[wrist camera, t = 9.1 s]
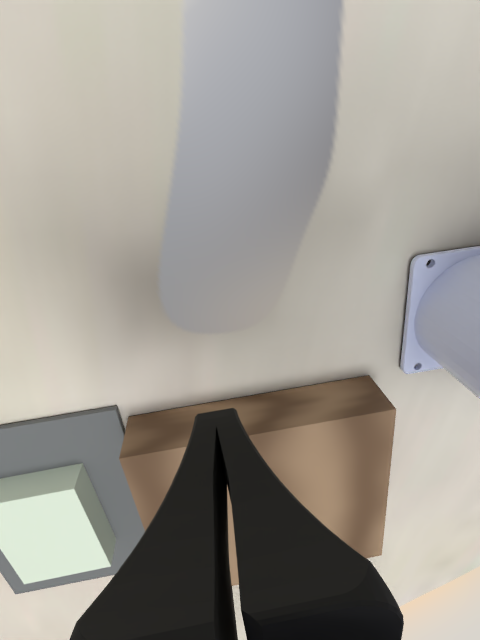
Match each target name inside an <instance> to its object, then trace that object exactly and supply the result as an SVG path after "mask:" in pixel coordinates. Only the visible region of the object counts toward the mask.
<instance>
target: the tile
mask: <svg viewBox="0 0 480 640" xmlns="http://www.w3.org/2000/svg"><path fill="white" fill-rule="evenodd" d="M115 543H116V537H115V535H114V533H113V531H112V528H111V526H110V524H109V521H108V519H107V517H106V515H105V512H104V510H103V508H102V506H101V503H100V501H99V499H98V497H97V494H96V492H95V490H94V488H93V485H92V483H91V481H90V479H89V476H88V474H87V472H86V469H85V467H84V465H83V463H81V464H75V465H70V466H65V467H59V468H54V469H49V470H43V471H38V472H33V473H28V474H22V475H17V476H12V477H6V478H1V479H0V549H1V551H2V552H3V554H4V555H5V557H6V558H7V560H8V561H9V563H10V564H11V566H12V567H13V568H14V570H15V571H16V573H17V574H18V576H19V577H20V579H21V580H22V582H23V583H24V584H28V583H33V582H38V581H43V580H48V579H53V578H57V577H62V576H67V575H72V574H77V573H82V572H86V571H91V570H96V569H101V568H106V567H111V564H112V559H113V553H114V548H115Z"/></svg>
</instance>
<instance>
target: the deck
mask: <svg viewBox="0 0 480 640" xmlns="http://www.w3.org/2000/svg"><path fill="white" fill-rule="evenodd" d="M229 408H234V409H236V410H237V413H238V416H239V419H240V421H241V423H242V425H243V427H244V429H245V431H246V433H247V434H248V436H249V438H250V439H251V441H252V443H253V444H254V446H255V447H256V449H257V450H258V452H259V453H260V455H261V456H262V458H263V459H264V460H265V462H266V463H267V464H268V466H269V467H270V468H271V470H272V471H273V472H274V474H275V475H276V476H277V477H278V478H279V480H280V481H281V482H282V483H283V484H284V485H285V487H286V488H287V489H288V490H289V491H290V492H291V493H292V494H293V495H294V496H295V497H296V499H297V500H298V501H299V502H300V503H301V504H302V505H303V506H304V507H305V508H306V509H308V510H309V511H310V512H311V513H312V514H313V515H314V516H315V517H316V518H317V519H318V520H319V521H320V522H321V523H322V524H324V525H325V526H326V527H327V528H328V529H329V530H331V531H332V532H333V533H334V534H335V535H337V536H338V537H339V538H340V539H341V540H343V541H344V542H345V543H346V544H348V545H349V546H350V547H352V548H353V549H354V550H355V551H357V552H358V553H359V554H361V555H362V556H363V557H365V558H370V557H375V556H380V555H382V546H383V536H384V526H385V516H386V506H387V496H388V486H389V476H390V466H391V456H392V446H393V436H394V426H395V416H396V408H395V407H394V406H393V405H392V403H391V402H390V401H389V400H388V398H387V397H386V396H385V395H384V393H383V392H382V391H381V390H380V388H379V387H378V386H377V385H376V383H375V382H374V381H373V380H372V378H371V377H370V376H369V375H368V376H363V377H357V378H351V379H345V380H339V381H333V382H328V383H322V384H316V385H310V386H304V387H298V388H293V389H287V390H281V391H275V392H269V393H263V394H258V395H252V396H246V397H240V398H234V399H229V400H223V401H217V402H211V403H205V404H199V405H194V406H188V407H182V408H176V409H170V410H164V411H159V412H153V413H147V414H141V415H135V416H129V417H128V422H127V426H126V431H125V435H124V439H123V444H122V448H121V452H120V457H119V460H120V463H121V466H122V468H123V471H124V474H125V477H126V480H127V482H128V485H129V488H130V491H131V493H132V496H133V499H134V502H135V505H136V507H137V510H138V513H139V516H140V519H141V521H142V524H143V527H144V530H145V531H146V529H147V528H148V526H149V524H150V523H151V521H152V519H153V518H154V516H155V514H156V513H157V511H158V509H159V507H160V505H161V504H162V502H163V500H164V498H165V496H166V494H167V492H168V490H169V488H170V486H171V484H172V481H173V479H174V477H175V475H176V473H177V470H178V468H179V466H180V463H181V461H182V458H183V455H184V453H185V450H186V448H187V445H188V442H189V439H190V436H191V432H192V429H193V425H194V420H195V416H196V415H197V414H200V413H206V412H211V411H217V410H223V409H229ZM227 502H228V542H229V564H230V574H231V584H232V586H234V585H239V578H238V567H237V556H236V545H235V534H234V524H233V514H232V504H231V500H230V495H229V491H228V486H227Z"/></svg>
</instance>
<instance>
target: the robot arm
mask: <svg viewBox="0 0 480 640" xmlns="http://www.w3.org/2000/svg"><path fill="white" fill-rule="evenodd" d="M430 259H431V262H430V264H429V265H428V266H426V264H427V262H428V261H429V260H430ZM417 363H418V365H417V366H415V365H416V364H417ZM414 366H415V367H414ZM400 367H401V370H402V371H403V372H404V373H406V374H411V373H417V372H423V371H429V370H434V369H440V368H444V369H445V370H446V371H448V372H449V373H450V374H451V375H452V376H453V377H455V378H456V379H457V380H458V381H459V382H460V383H462V384H463V385H464V386H465V387H466V388H467V389H469V390H470V391H471V392H472V393H473V394H474V395H476V396H477V397H478V398H479V399H480V246H475V247H468V248H462V249H455V250H448V251H442V252H435V253H428V254H422V255H418V256H416V257H414V258H413V260H412V261H411V265H410V275H409V285H408V295H407V305H406V315H405V325H404V335H403V345H402V355H401V365H400ZM227 486H228V491H229V495H230V500H231V504H232V514H233V524H234V534H235V545H236V556H237V567H238V578H239V590H240V602H241V611H242V616H243V621H244V626H245V631H246V636H247V640H401V637H402V631H403V624H404V623H403V615H402V613H401V611H400V608H399V606H398V604H397V602H396V600H395V599H394V597H393V595H392V593H391V592H390V590H389V588H388V587H387V585H386V584H385V582H384V581H383V579H382V577H381V576H380V575H379V573H378V572H377V570H376V569H375V567H374V566H373V565H372V563H371V562H370V561H369V560H368V559H366V558H365V557H363V556H362V555H361V554H359V553H358V552H357V551H355V550H354V549H353V548H352V547H350V546H349V545H348V544H346V543H345V542H344V541H343V540H341V539H340V538H339V537H338V536H337V535H335V534H334V533H333V532H332V531H331V530H329V529H328V528H327V527H326V526H325V525H324V524H322V523H321V522H320V521H319V520H318V519H317V518H316V517H315V516H314V515H313V514H312V513H311V512H310V511H309V510H308V509H306V508H305V507H304V506H303V505H302V504H301V503H300V502H299V501H298V500H297V499H296V497H295V496H294V495H293V494H292V493H291V492H290V491H289V490H288V489H287V488H286V487H285V485H284V484H283V483H282V482H281V481H280V480H279V478H278V477H277V476H276V475H275V474H274V472H273V471H272V470H271V468H270V467H269V466H268V464H267V463H266V462H265V460H264V459H263V458H262V456H261V455H260V453H259V452H258V450H257V449H256V447H255V446H254V444H253V443H252V441H251V439H250V438H249V436H248V434H247V433H246V431H245V429H244V427H243V425H242V423H241V421H240V419H239V416H238V413H237V410H236V409H234V408H229V409H223V410H217V411H211V412H206V413H200V414H197V415H196V416H195V420H194V425H193V429H192V432H191V436H190V439H189V442H188V445H187V448H186V450H185V453H184V455H183V458H182V461H181V463H180V466H179V468H178V470H177V473H176V475H175V477H174V479H173V481H172V484H171V486H170V488H169V490H168V492H167V494H166V496H165V498H164V500H163V502H162V504H161V505H160V507H159V509H158V511H157V513H156V514H155V516H154V518H153V519H152V521H151V523H150V524H149V526H148V528H147V529H146V531H145V533H144V534H143V536H142V537H141V539H140V540H139V542H138V543H137V545H136V546H135V548H134V549H133V551H132V552H131V554H130V555H129V556H128V558H127V559H126V560H125V562H124V563H123V565H122V566H121V567H120V569H119V570H118V572H117V573H116V574H115V576H114V577H113V578H112V580H111V581H110V582H109V584H108V585H107V586H106V587H105V589H104V590H103V591H102V592H101V593H100V595H99V596H98V597H97V598H96V599H95V601H94V602H93V603H92V604H91V605H90V607H89V608H88V609H87V610H86V612H85V613H84V614H83V615H82V616H81V618H80V619H79V620H78V621H77V622H76V625H75V627H74V630H73V632H72V635H71V638H70V640H238V638H237V629H236V620H235V611H234V602H233V593H232V584H231V574H230V564H229V542H228V502H227Z"/></svg>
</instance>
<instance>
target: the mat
mask: <svg viewBox="0 0 480 640" xmlns="http://www.w3.org/2000/svg"><path fill="white" fill-rule="evenodd" d="M124 435H125V429H124V426H123V423H122V420H121V417H120V414H119V411H118V408H117V406H112V407H106V408H100V409H94V410H88V411H82V412H76V413H70V414H64V415H58V416H53V417H47V418H41V419H35V420H29V421H23V422H17V423H11V424H5V425H0V479H1V478H6V477H12V476H17V475H22V474H28V473H33V472H38V471H43V470H49V469H54V468H59V467H65V466H70V465H75V464H81V463H83V465H84V467H85V469H86V472H87V474H88V476H89V479H90V481H91V483H92V485H93V488H94V490H95V492H96V494H97V497H98V499H99V501H100V503H101V506H102V508H103V510H104V512H105V515H106V517H107V519H108V521H109V524H110V526H111V528H112V531H113V533H114V535H115V537H116V543H115V548H114V553H113V559H112V564H111V567H106V568H101V569H96V570H91V571H86V572H82V573H77V574H72V575H67V576H62V577H57V578H53V579H48V580H43V581H38V582H33V583H28V584H24V583H23V582H22V580H21V579H20V577H19V576H18V574H17V573H16V571H15V570H14V568H13V567H12V566H11V564H10V563H9V561H8V560H7V558H6V557H5V555H4V554H3V552H2V551H1V549H0V572H1V574H2V575H3V577H4V578H5V579H6V581H7V582H8V584H9V585H10V587H11V588H12V590H13V591H14V593H15V594H20V593H25V592H30V591H35V590H40V589H45V588H50V587H55V586H60V585H65V584H70V583H75V582H80V581H85V580H90V579H95V578H100V577H105V576H110V575H115V574H116V573H117V572H118V570H119V569H120V567H121V566H122V565H123V563H124V562H125V560H126V559H127V558H128V556H129V555H130V554H131V552H132V551H133V549H134V548H135V546H136V545H137V543H138V542H139V540H140V539H141V537H142V536H143V534H144V533H145V530H144V527H143V524H142V521H141V519H140V516H139V513H138V510H137V507H136V505H135V502H134V499H133V496H132V493H131V491H130V488H129V485H128V482H127V480H126V477H125V474H124V471H123V468H122V466H121V463H120V460H119V457H120V452H121V448H122V444H123V439H124Z"/></svg>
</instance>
